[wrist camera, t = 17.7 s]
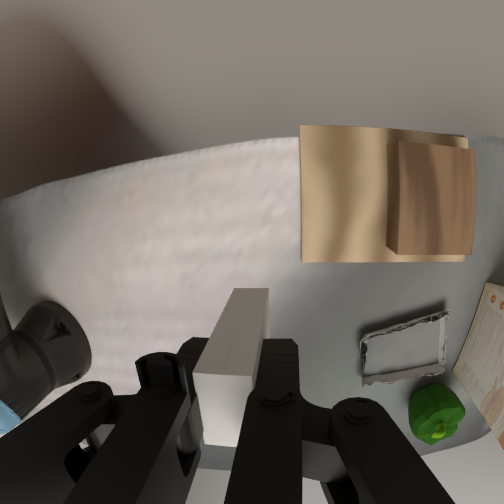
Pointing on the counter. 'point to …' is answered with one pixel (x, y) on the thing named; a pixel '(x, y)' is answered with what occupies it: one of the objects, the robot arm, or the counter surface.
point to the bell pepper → (434, 413)
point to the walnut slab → (430, 199)
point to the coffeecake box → (486, 359)
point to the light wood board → (353, 192)
